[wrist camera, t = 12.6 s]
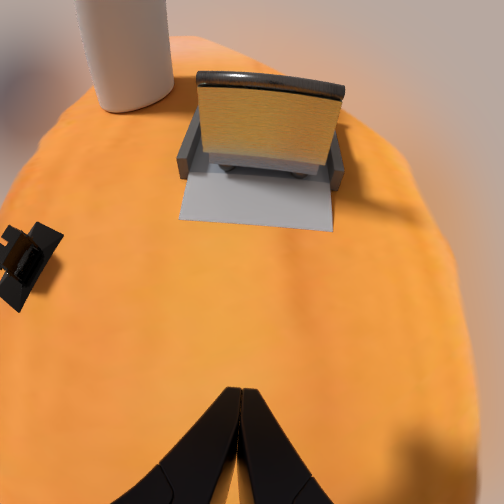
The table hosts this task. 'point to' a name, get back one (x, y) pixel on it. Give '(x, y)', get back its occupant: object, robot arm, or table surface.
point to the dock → (255, 190)
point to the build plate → (24, 261)
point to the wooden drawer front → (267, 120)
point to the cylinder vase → (126, 51)
